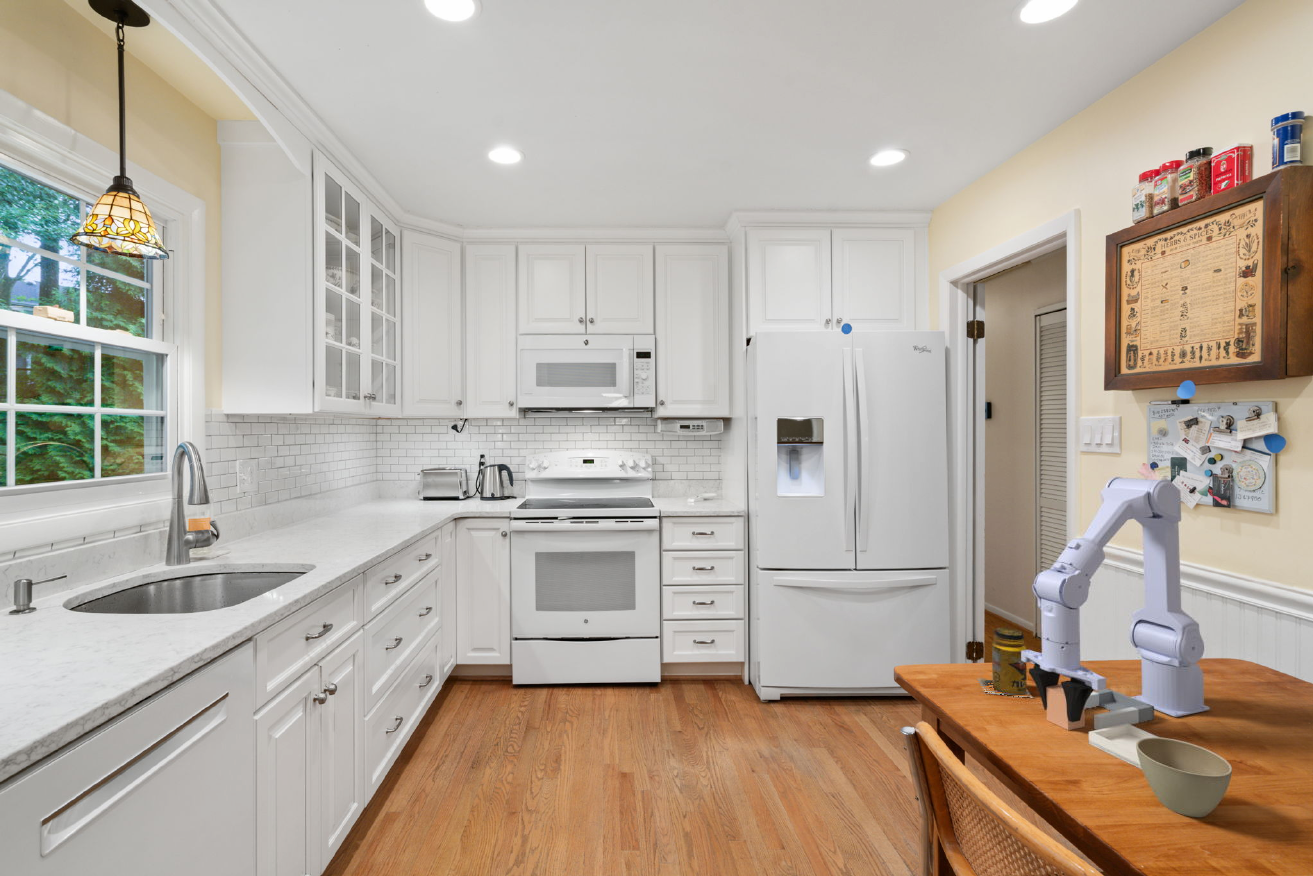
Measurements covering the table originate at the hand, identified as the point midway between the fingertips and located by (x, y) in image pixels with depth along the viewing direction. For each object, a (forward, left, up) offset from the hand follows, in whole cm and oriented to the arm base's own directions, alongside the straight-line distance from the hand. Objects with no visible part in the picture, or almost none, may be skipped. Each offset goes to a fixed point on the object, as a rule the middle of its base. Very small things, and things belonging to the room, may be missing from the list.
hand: (1061, 714), depth 107 cm
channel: (-8, 0, -2) cm, 9 cm away
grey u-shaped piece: (-15, 0, -2) cm, 15 cm away
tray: (-2, +11, -2) cm, 11 cm away
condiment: (-3, -15, -2) cm, 15 cm away
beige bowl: (+7, +23, -2) cm, 24 cm away
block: (-1, 0, -2) cm, 2 cm away
